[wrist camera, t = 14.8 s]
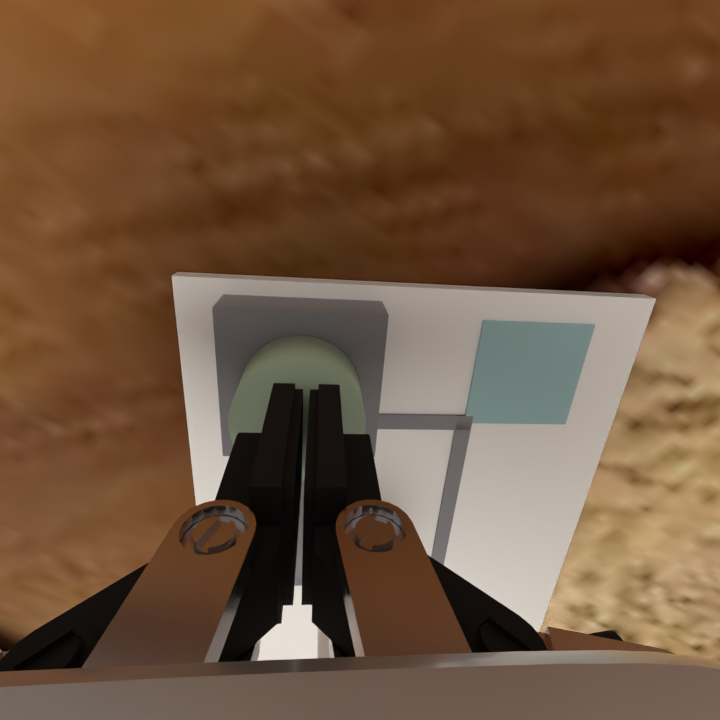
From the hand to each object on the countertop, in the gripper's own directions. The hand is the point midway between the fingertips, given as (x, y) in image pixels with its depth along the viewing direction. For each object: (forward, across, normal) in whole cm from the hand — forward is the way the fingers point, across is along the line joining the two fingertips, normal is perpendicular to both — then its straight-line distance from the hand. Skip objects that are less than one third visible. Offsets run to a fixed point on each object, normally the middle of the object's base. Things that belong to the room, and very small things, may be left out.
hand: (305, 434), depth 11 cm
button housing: (+4, 0, 0) cm, 4 cm away
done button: (+2, 0, 0) cm, 2 cm away
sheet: (+4, -4, +8) cm, 10 cm away
